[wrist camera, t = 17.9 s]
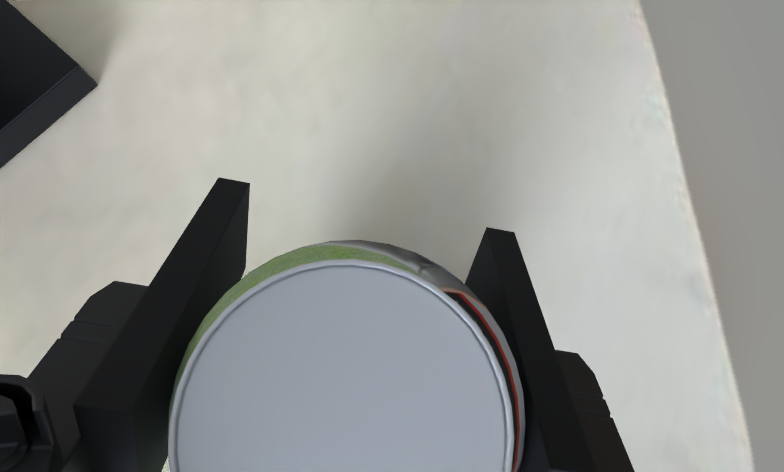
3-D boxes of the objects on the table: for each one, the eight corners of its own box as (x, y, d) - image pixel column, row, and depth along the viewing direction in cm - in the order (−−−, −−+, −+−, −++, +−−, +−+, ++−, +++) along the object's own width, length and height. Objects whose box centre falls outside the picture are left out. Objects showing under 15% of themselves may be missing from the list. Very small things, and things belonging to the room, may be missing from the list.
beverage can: (447, 442, 18) (692, 633, 7) (245, 475, 17) (125, 783, 5) (427, 276, 20) (611, 200, 8) (235, 294, 18) (117, 232, 7)
